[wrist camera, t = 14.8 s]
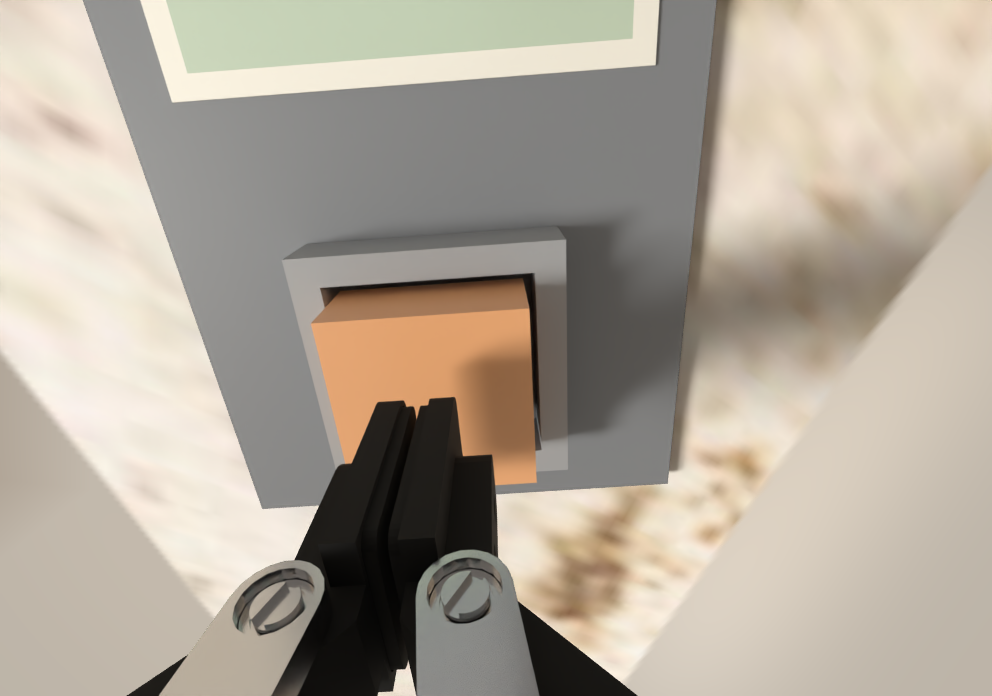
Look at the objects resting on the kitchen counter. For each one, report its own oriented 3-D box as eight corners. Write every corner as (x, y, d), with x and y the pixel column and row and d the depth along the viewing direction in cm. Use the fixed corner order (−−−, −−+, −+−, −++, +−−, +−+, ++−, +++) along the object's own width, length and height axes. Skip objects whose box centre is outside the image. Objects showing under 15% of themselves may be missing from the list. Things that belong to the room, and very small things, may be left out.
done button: (340, 291, 13) (310, 323, 11) (522, 278, 13) (529, 308, 11) (372, 441, 15) (353, 494, 13) (529, 431, 15) (536, 482, 13)
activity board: (-169, -782, 8) (-432, -1147, 5) (790, -888, 7) (917, -1316, 5) (269, 497, 18) (239, 547, 16) (662, 473, 18) (685, 520, 16)
